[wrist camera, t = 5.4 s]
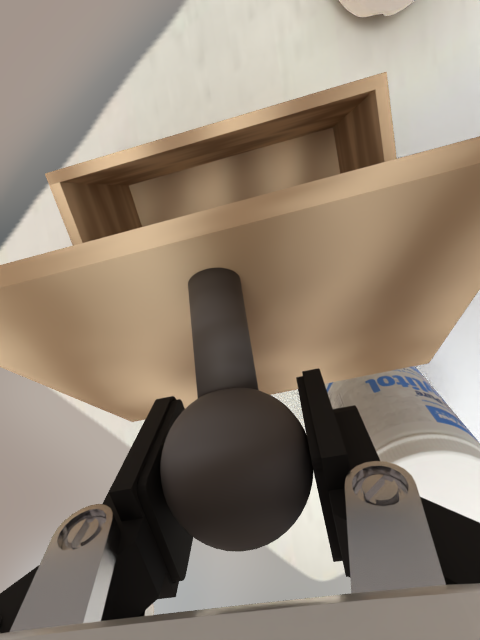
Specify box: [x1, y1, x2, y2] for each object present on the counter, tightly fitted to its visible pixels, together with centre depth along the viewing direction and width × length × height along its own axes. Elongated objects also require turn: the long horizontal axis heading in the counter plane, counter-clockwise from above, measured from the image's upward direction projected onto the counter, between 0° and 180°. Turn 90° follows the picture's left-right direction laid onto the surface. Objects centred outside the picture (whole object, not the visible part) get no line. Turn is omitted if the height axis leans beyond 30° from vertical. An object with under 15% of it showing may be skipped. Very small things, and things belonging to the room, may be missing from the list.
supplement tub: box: [325, 366, 480, 523], centre depth 30 cm, size 10×10×15 cm
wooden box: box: [45, 72, 397, 246], centre depth 27 cm, size 18×15×12 cm
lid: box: [0, 137, 480, 551], centre depth 15 cm, size 18×15×8 cm
